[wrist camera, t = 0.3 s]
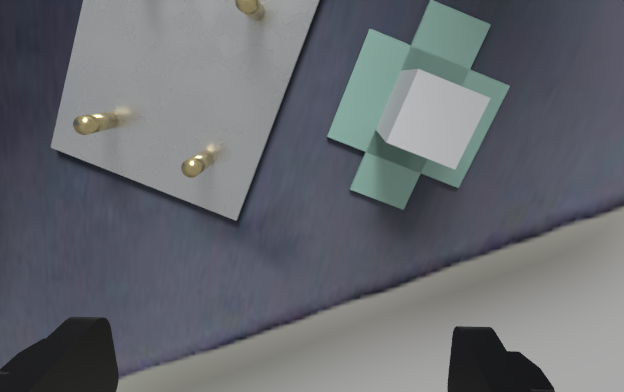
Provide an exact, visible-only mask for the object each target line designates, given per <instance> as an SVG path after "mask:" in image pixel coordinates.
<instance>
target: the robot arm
mask: <svg viewBox="0 0 624 392" xmlns="http://www.w3.org/2000/svg"><path fill="white" fill-rule="evenodd" d="M450 357H451V358H450V366H449V377H448V392H555V391H554V388H553V386H552V385H551V383H550V382H549V381H548V379H547V377H546V376H545V375H544V373H543V372H542V370H541V369H540V368H539V367H537V366H536V365H535V364H534V363H532V362H531V361H530V360H529V359H527V358H526V357H525V356H524V355H522V354H521V353H520V352H510V351H506V349H505V347H504V346H503V344H502V343H501V341H500V340H499V338H498V336H497V335H496V333H495V331H494V330H493V329H492V328H490V327H455V329H454V331H453V337H452V347H451V356H450ZM117 385H118V367H117V362H116V356H115V350H114V344H113V338H112V332H111V327H110V323H109V321H108V320H107V319H106V318H100V317H70V318H68V319H67V320H66V321H64V322H63V323H62V324H61V325H60V326H59V327H58V328H57V329H56V330H55V331H54V332H53V333H51V334H50V335H49V336H48V337H47V338H46V339H42V340H40V341H39V342H37V343H35V344H34V345H32V346H30V347H28V348H27V349H25V350H23V351H21V352H20V353H18V354H17V355H16V356H15V357H14V358H12V359H11V360H10V361H9V362H8V363H7V364H6V365H5V366H4V367H2V368H1V369H0V392H116V389H117Z"/></svg>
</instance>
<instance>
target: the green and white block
mask: <svg viewBox="0 0 624 392" xmlns="http://www.w3.org/2000/svg"><path fill="white" fill-rule="evenodd" d="M490 26H491V24H488V23H486V22H484V21H481V20H479V19H476V18H474V17H472V16H469V15H467V14H464V13H462V12H460V11H457V10H455V9H453V8H450V7H448V6H445V5H443V4H441V3H438V2H436V1H433V0H430V1H429V3H428V5H427V8H426V10H425V12H424V15H423V17H422V20H421V22H420V24H419V27H418V29H417V31H416V34H415V36H414V38H413V41H412V43H411V45H409V44H407V43H404V42H402V41H399V40H397V39H394V38H392V37H389V36H387V35H385V34H382V33H380V32H377V31H375V30H372V29H369V31H368V34H367V36H366V39H365V41H364V44H363V47H362V49H361V52H360V54H359V57H358V59H357V62H356V64H355V67H354V69H353V72H352V74H351V77H350V80H349V82H348V85H347V87H346V90H345V92H344V95H343V97H342V100H341V102H340V105H339V108H338V110H337V113H336V115H335V118H334V120H333V123H332V125H331V128H330V130H329V133H328V135H327V137H329V138H331V139H334V140H336V141H339V142H342V143H344V144H347V145H349V146H352V147H354V148H357V149H359V150H362V151H365V154H364V156H363V158H362V161H361V163H360V165H359V168H358V170H357V172H356V175H355V177H354V179H353V182H352V184H351V186H350V190H353V191H355V192H358V193H360V194H363V195H366V196H368V197H371V198H373V199H376V200H379V201H381V202H384V203H387V204H389V205H392V206H394V207H397V208H400V209H402V210H404V208H405V206H406V204H407V202H408V199H409V197H410V195H411V193H412V191H413V189H414V187H415V185H416V182H417V180H418V178H419V176H420V174H423V175H426V176H429V177H431V178H434V179H436V180H439V181H441V182H444V183H447V184H449V185H452V186H454V187H457V188H459V186H460V184H461V182H462V180H463V178H464V176H465V174H466V172H467V170H468V169H469V167H470V165H471V163H472V161H473V159H474V157H475V155H476V153H477V151H478V149H479V147H480V145H481V143H482V141H483V139H484V137H485V135H486V133H487V131H488V129H489V127H490V125H491V123H492V121H493V119H494V117H495V115H496V113H497V111H498V109H499V107H500V105H501V103H502V101H503V99H504V97H505V95H506V93H507V91H508V89H509V87H510V86H509V85H507V84H504V83H502V82H499V81H497V80H494V79H492V78H490V77H487V76H485V75H482V74H480V73H477V72H475V71H472V70H470V68H471V66H472V64H473V62H474V60H475V58H476V56H477V53H478V51H479V49H480V47H481V45H482V43H483V41H484V39H485V36H486V34H487V32H488V30H489V28H490Z"/></svg>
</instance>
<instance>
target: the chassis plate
mask: <svg viewBox="0 0 624 392" xmlns="http://www.w3.org/2000/svg"><path fill="white" fill-rule="evenodd" d="M319 2H320V0H83V4H82V9H81V13H80V18H79V22H78V27H77V31H76V36H75V40H74V45H73V49H72V54H71V58H70V63H69V67H68V72H67V76H66V81H65V85H64V90H63V94H62V99H61V103H60V108H59V112H58V117H57V121H56V126H55V130H54V135H53V139H52V144H51V148H53V149H56V150H58V151H61V152H63V153H66V154H68V155H71V156H73V157H76V158H78V159H81V160H83V161H86V162H88V163H91V164H94V165H96V166H99V167H101V168H104V169H106V170H109V171H111V172H114V173H116V174H119V175H121V176H124V177H127V178H129V179H132V180H134V181H137V182H139V183H142V184H144V185H147V186H149V187H152V188H154V189H157V190H159V191H162V192H165V193H167V194H170V195H172V196H175V197H177V198H180V199H182V200H185V201H187V202H190V203H192V204H195V205H198V206H200V207H203V208H205V209H208V210H210V211H213V212H215V213H218V214H220V215H223V216H225V217H228V218H230V219H233V220H236V221H237V219H238V218H239V215H240V212H241V210H242V207H243V204H244V202H245V199H246V196H247V194H248V191H249V188H250V186H251V183H252V180H253V178H254V175H255V172H256V170H257V167H258V164H259V162H260V159H261V156H262V154H263V151H264V148H265V146H266V143H267V140H268V138H269V135H270V132H271V130H272V127H273V124H274V122H275V119H276V117H277V114H278V111H279V109H280V106H281V103H282V101H283V98H284V95H285V93H286V90H287V87H288V85H289V82H290V79H291V77H292V74H293V71H294V69H295V66H296V63H297V61H298V58H299V55H300V53H301V50H302V47H303V45H304V42H305V39H306V37H307V34H308V31H309V29H310V26H311V23H312V21H313V18H314V15H315V13H316V10H317V7H318V5H319Z"/></svg>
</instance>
